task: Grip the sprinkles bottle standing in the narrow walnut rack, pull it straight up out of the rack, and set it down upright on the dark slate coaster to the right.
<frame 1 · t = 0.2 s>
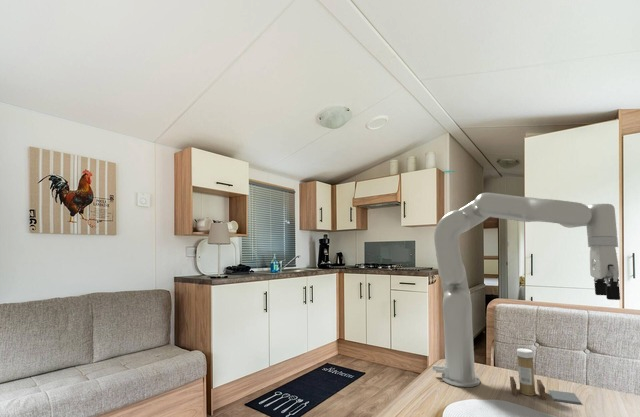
hand: (607, 297, 112), 31 cm above the table, tool pointing down, fingers open, 9 cm apart
slate coaster: (564, 397, 111), on the table
walnut rack: (527, 393, 115), on the table
sprinkles bottle: (527, 393, 115), on the table
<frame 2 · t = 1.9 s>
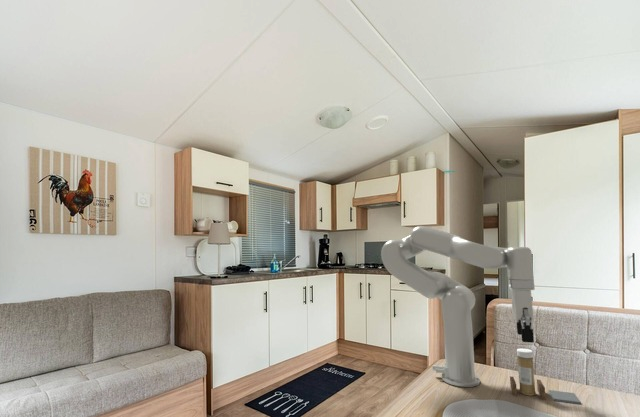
hand: (525, 338, 116), 17 cm above the table, tool pointing down, fingers open, 9 cm apart
nothing on the table moved.
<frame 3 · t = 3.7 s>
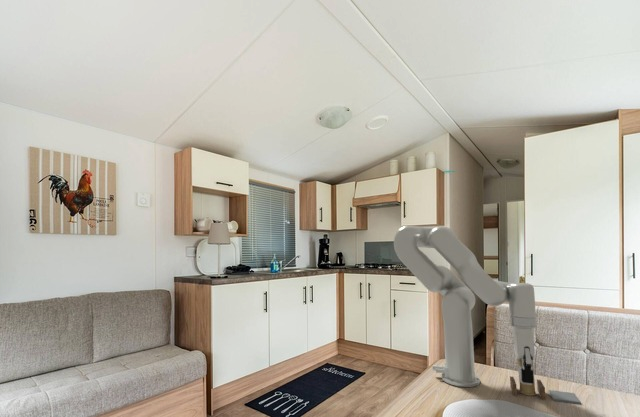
hand: (526, 379, 115), 4 cm above the table, tool pointing down, fingers closed on sprinkles bottle, 4 cm apart
sprinkles bottle: (527, 393, 115), on the table, touching gripper
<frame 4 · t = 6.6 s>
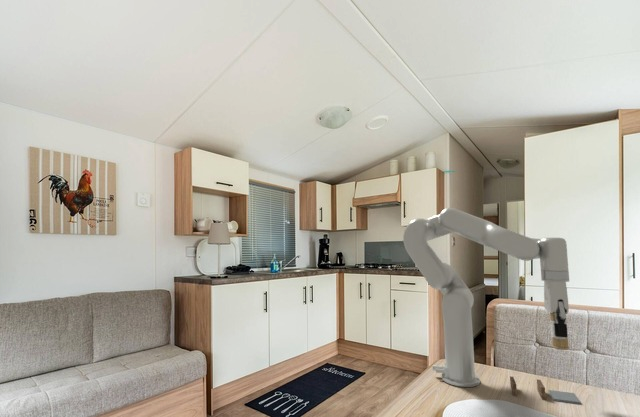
hand: (559, 334, 113), 19 cm above the table, tool pointing down, fingers closed on sprinkles bottle, 4 cm apart
sprinkles bottle: (560, 348, 112), point 15 cm above the table, touching gripper
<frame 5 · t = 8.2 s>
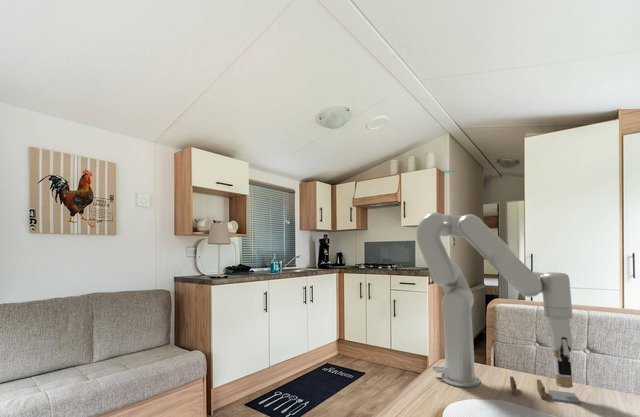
hand: (562, 371, 112), 8 cm above the table, tool pointing down, fingers closed on sprinkles bottle, 4 cm apart
sprinkles bottle: (564, 386, 111), point 3 cm above the table, touching gripper
when the fingers open (6 cm above the table, at t = 9.4 s): sprinkles bottle stays where it is, resting on slate coaster.
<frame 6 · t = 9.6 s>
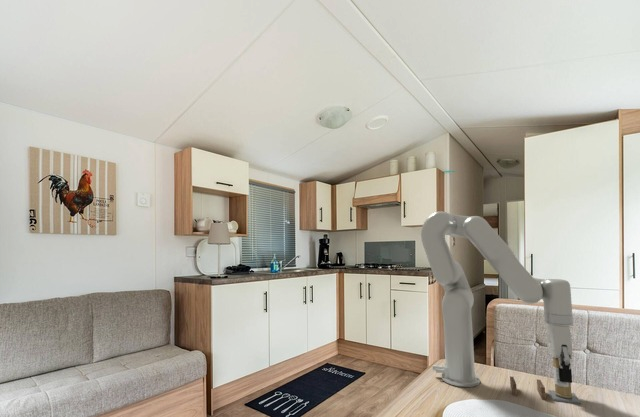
hand: (562, 377, 112), 6 cm above the table, tool pointing down, fingers open, 6 cm apart
sprinkles bottle: (563, 396, 111), resting on slate coaster
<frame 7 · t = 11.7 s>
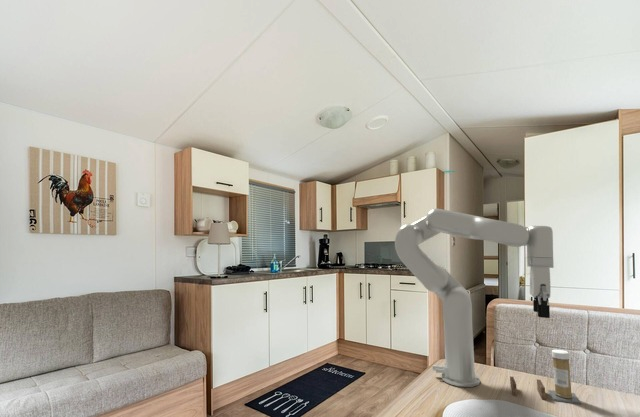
hand: (541, 314, 119), 24 cm above the table, tool pointing down, fingers open, 9 cm apart
nothing on the table moved.
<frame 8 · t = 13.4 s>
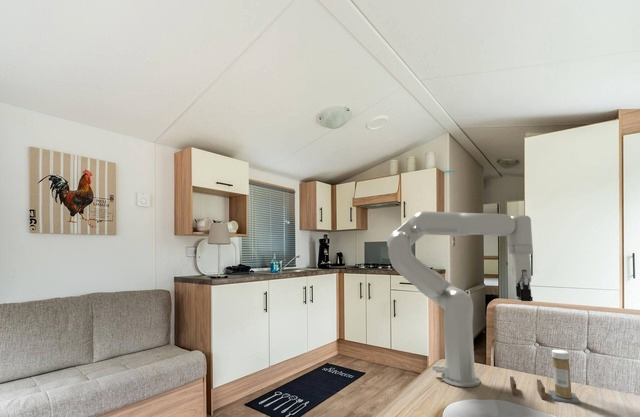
hand: (523, 298, 126), 28 cm above the table, tool pointing down, fingers open, 9 cm apart
nothing on the table moved.
at the end: sprinkles bottle inside the target area on the slate coaster (0.2 cm from its centre), point 0.4 cm above the slate coaster's base; sprinkles bottle tilted 0°; the gripper is holding nothing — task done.
